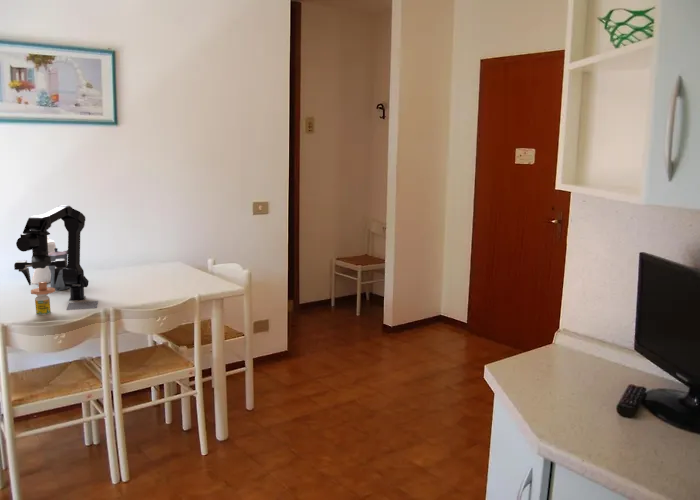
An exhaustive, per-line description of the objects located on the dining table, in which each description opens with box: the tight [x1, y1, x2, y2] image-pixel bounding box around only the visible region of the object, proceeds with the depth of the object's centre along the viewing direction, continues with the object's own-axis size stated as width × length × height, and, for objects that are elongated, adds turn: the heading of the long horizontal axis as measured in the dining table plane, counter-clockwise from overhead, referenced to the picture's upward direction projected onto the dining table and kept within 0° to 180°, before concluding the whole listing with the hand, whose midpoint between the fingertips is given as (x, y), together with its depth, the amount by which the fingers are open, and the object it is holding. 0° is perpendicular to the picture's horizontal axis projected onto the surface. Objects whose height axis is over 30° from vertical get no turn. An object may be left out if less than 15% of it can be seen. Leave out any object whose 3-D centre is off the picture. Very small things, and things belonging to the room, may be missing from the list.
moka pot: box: [48, 247, 70, 291], centre depth 290 cm, size 10×15×20 cm, turn 158°
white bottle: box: [31, 235, 57, 285], centre depth 301 cm, size 12×11×25 cm
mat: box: [66, 300, 99, 311], centre depth 260 cm, size 12×12×1 cm
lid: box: [30, 282, 56, 296], centre depth 246 cm, size 9×9×4 cm
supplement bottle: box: [34, 294, 52, 316], centre depth 247 cm, size 5×5×10 cm
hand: (42, 284), depth 246 cm, fingers open, 9 cm apart
